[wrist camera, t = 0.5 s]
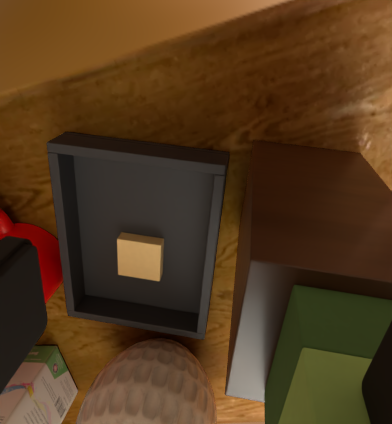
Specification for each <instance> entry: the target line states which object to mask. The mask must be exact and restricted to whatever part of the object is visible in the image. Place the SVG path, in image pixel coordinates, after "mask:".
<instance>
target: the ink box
mask: <svg viewBox="0 0 392 424" xmlns="http://www.w3.org/2000/svg"><path fill="white" fill-rule="evenodd" d="M77 392H78V390H77V388H76V386H75V384H74V381H73V379H72V377H71V375H70V373H69V371H68V369H67V367H66V364H65V362H64V360H63V358H62V356H61V354H60V352H59V349H58V347H57V346H34V347H33V348H32V349H31V351H30V352H29V354H28V355H27V357H26V358H25V360H24V361H23V363H22V364H21V365H20V367H19V368H18V370H17V371H16V373H15V374H14V376H13V377H12V378H11V380H10V381H9V383H8V384H7V386H6V387H5V389H4V390H3V391H2V393H1V394H0V424H61V423H62V421H63V419H64V417H65V415H66V413H67V411H68V409H69V407H70V406H71V404H72V402H73V400H74V398H75V396H76V394H77Z"/></svg>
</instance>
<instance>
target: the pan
mask: <svg viewBox="0 0 392 424" xmlns="http://www.w3.org/2000/svg"><path fill="white" fill-rule="evenodd" d="M47 150H48V160H49V168H50V176H51V184H52V192H53V200H54V209H55V217H56V225H57V233H58V241H59V249H60V258H61V266H62V274H63V282H64V290H65V298H66V307H67V313H68V316H72V317H78V318H84V319H89V320H95V321H100V322H106V323H112V324H117V325H123V326H129V327H134V328H140V329H146V330H151V331H157V332H162V333H168V334H174V335H179V336H185V337H191V338H196V339H202V340H204V338H205V332H206V326H207V320H208V314H209V306H210V298H211V291H212V283H213V275H214V268H215V260H216V252H217V244H218V237H219V229H220V221H221V214H222V206H223V198H224V191H225V183H226V175H227V168H228V160H229V152H223V151H215V150H207V149H199V148H191V147H183V146H175V145H167V144H159V143H151V142H143V141H135V140H127V139H119V138H111V137H103V136H96V135H88V134H80V133H72V132H64V133H63V134H61V135H59V136H57V137H56V138H54V139H52V140H50V141H48V142H47ZM121 232H123V233H130V234H137V235H143V236H150V237H156V238H163V239H164V252H163V274H162V276H161V279H160V281H154V280H148V279H142V278H136V277H130V276H124V275H118V254H117V238H118V237H119V235H120V234H121Z"/></svg>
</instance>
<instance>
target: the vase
mask: <svg viewBox="0 0 392 424" xmlns="http://www.w3.org/2000/svg"><path fill="white" fill-rule="evenodd" d="M76 424H216V404H215V398H214V393H213V389H212V387H211V384H210V381H209V379H208V377H207V374H206V372H205V371H204V369H203V367H202V365H201V363H200V362H199V361H198V359H197V358H196V357H195V356H194V355H193V354H192V353H191V352H190V351H189V350H188V349H187V348H186V347H185V346H184V345H182V344H181V343H179V342H177V341H174V340H171V339H167V338H154V339H149V340H145V341H142V342H138V343H136V344H134V345H132V346H130V347H128V348H127V349H125V350H123V351H122V352H121V353H119V354H118V355H117V356H115V357H114V358H113V359H112V360H110V361H109V362H108V363H107V364H106V365H105V367H104V368H103V369H102V370H101V371H100V373H99V374H98V375H97V376H96V378H95V380H94V382H93V383H92V385H91V387H90V388H89V390H88V392H87V394H86V396H85V399H84V401H83V403H82V405H81V408H80V411H79V415H78V418H77V421H76Z"/></svg>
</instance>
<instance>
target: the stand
mask: <svg viewBox="0 0 392 424" xmlns="http://www.w3.org/2000/svg"><path fill="white" fill-rule="evenodd" d="M294 285H301V286H307V287H314V288H320V289H326V290H332V291H339V292H345V293H351V294H358V295H364V296H370V297H377V298H383V299H389V300H392V191H391V190H390V189H389V188H388V186H387V185H386V184H385V183H384V182H383V180H382V179H381V178H380V177H379V175H378V174H377V173H376V172H375V170H374V169H373V168H372V167H371V166H370V164H369V163H368V162H367V161H366V159H365V158H364V157H363V156H362V155H361V153H355V152H347V151H338V150H330V149H322V148H314V147H306V146H297V145H289V144H281V143H273V142H265V141H256V140H254V141H253V146H252V153H251V159H250V165H249V171H248V178H247V184H246V190H245V196H244V202H243V209H242V215H241V221H240V227H239V238H238V249H237V261H236V272H235V284H234V295H233V307H232V318H231V330H230V341H229V353H228V364H227V376H226V387H225V395H227V396H233V397H238V398H243V399H248V400H254V401H259V402H264V403H265V401H264V393H265V389H266V385H267V381H268V378H269V374H270V370H271V367H272V363H273V359H274V355H275V352H276V348H277V344H278V340H279V337H280V333H281V329H282V326H283V322H284V318H285V314H286V311H287V307H288V303H289V299H290V296H291V292H292V288H293V286H294Z"/></svg>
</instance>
